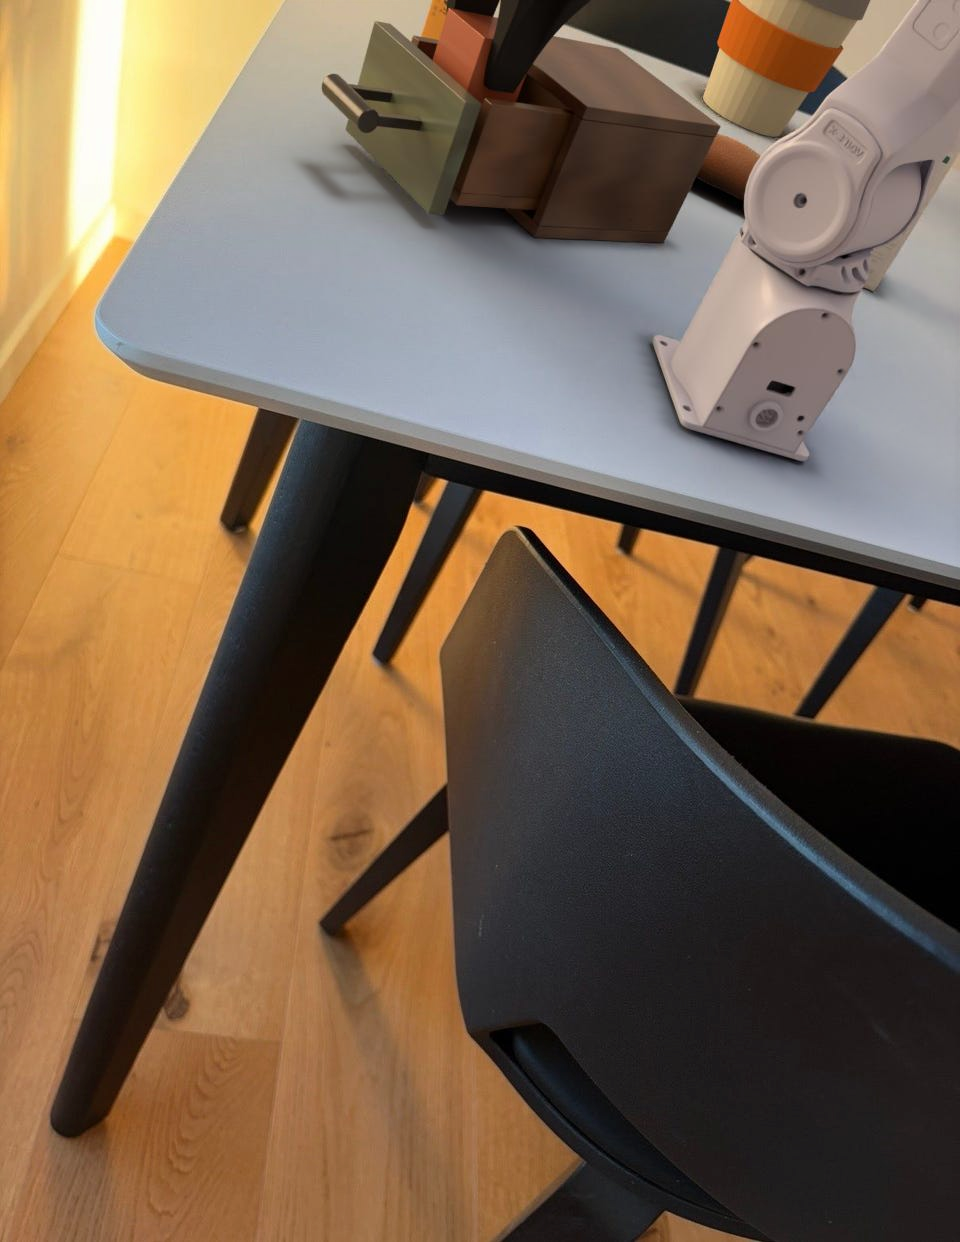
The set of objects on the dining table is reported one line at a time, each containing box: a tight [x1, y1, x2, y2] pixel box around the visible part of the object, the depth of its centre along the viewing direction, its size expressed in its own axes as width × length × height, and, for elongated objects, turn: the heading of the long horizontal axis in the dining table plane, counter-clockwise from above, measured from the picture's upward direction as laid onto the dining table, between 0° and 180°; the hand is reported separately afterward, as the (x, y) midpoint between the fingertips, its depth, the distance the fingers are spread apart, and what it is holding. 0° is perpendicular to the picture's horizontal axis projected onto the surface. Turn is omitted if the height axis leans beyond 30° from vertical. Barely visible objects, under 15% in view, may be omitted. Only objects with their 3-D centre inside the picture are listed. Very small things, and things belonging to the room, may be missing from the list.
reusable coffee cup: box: [702, 0, 871, 138], centre depth 110 cm, size 12×13×15 cm
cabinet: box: [503, 35, 721, 244], centre depth 76 cm, size 13×12×9 cm
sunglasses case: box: [696, 133, 761, 202], centre depth 92 cm, size 18×7×7 cm
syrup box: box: [863, 131, 960, 292], centre depth 86 cm, size 6×6×14 cm
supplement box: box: [420, 0, 447, 40], centre depth 86 cm, size 3×3×10 cm
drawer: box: [321, 20, 575, 216], centre depth 69 cm, size 16×10×7 cm, turn 125°
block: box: [433, 8, 526, 109], centre depth 67 cm, size 4×4×4 cm
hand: (478, 71), depth 68 cm, fingers closed on block, 4 cm apart
